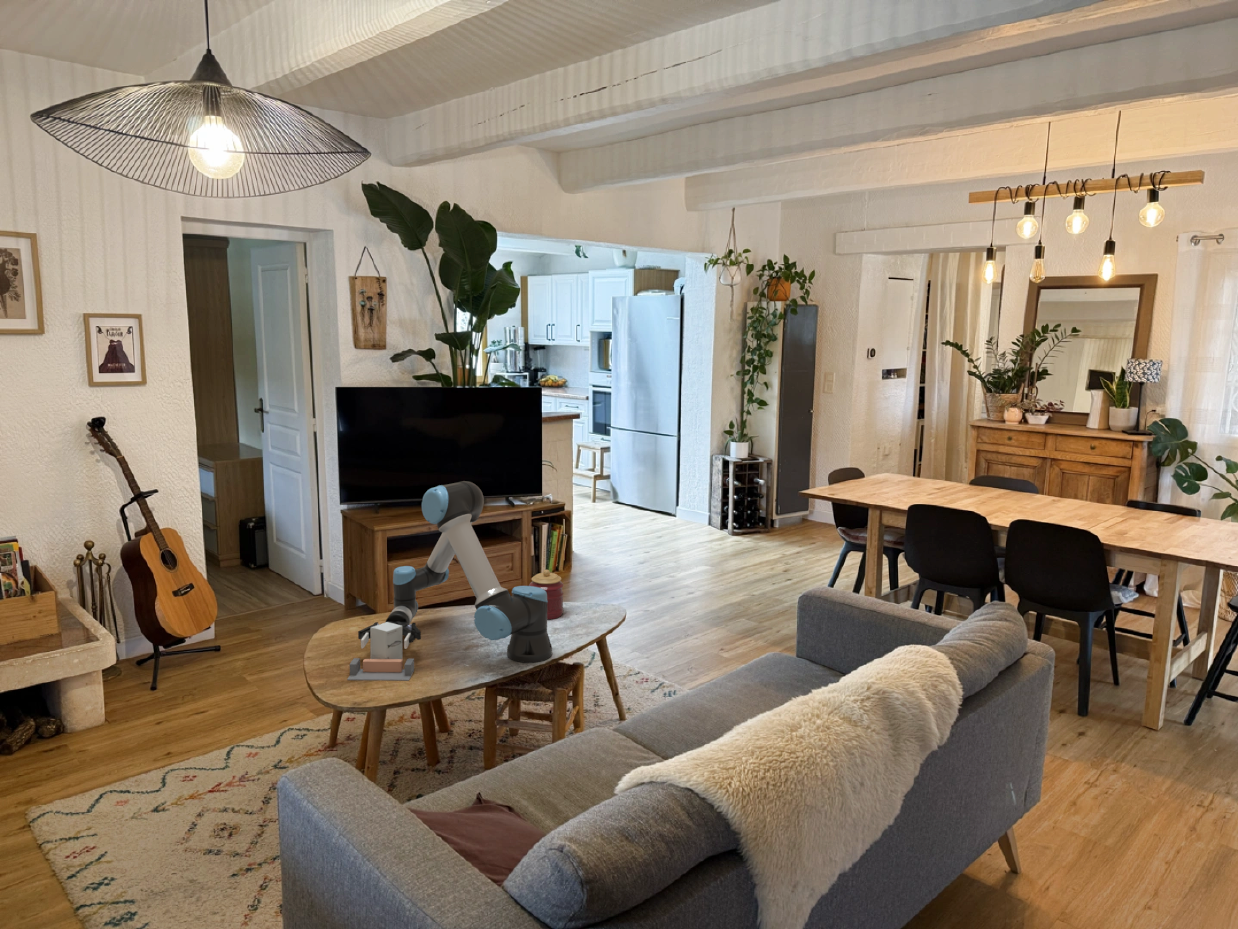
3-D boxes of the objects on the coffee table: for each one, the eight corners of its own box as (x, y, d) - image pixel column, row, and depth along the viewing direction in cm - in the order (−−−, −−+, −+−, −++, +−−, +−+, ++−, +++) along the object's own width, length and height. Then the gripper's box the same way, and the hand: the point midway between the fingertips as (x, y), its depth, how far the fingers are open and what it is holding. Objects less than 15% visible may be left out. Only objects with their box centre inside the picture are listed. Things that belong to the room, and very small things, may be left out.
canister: (567, 610, 326) (567, 566, 323) (557, 621, 314) (557, 576, 311) (535, 607, 329) (535, 563, 326) (524, 618, 317) (524, 573, 314)
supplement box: (386, 669, 268) (385, 631, 266) (369, 664, 271) (369, 627, 270) (403, 662, 274) (403, 625, 272) (387, 658, 278) (386, 621, 276)
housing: (354, 669, 268) (353, 658, 267) (414, 670, 268) (414, 658, 268) (347, 680, 260) (346, 668, 259) (409, 680, 261) (408, 668, 260)
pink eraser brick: (364, 669, 267) (364, 659, 267) (402, 669, 268) (402, 659, 267) (363, 672, 265) (362, 661, 265) (401, 672, 266) (401, 661, 265)
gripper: (435, 631, 289) (423, 656, 268) (362, 630, 288) (344, 655, 267) (435, 610, 288) (423, 633, 267) (361, 609, 287) (343, 632, 266)
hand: (383, 644), depth 267 cm, fingers open, 13 cm apart
